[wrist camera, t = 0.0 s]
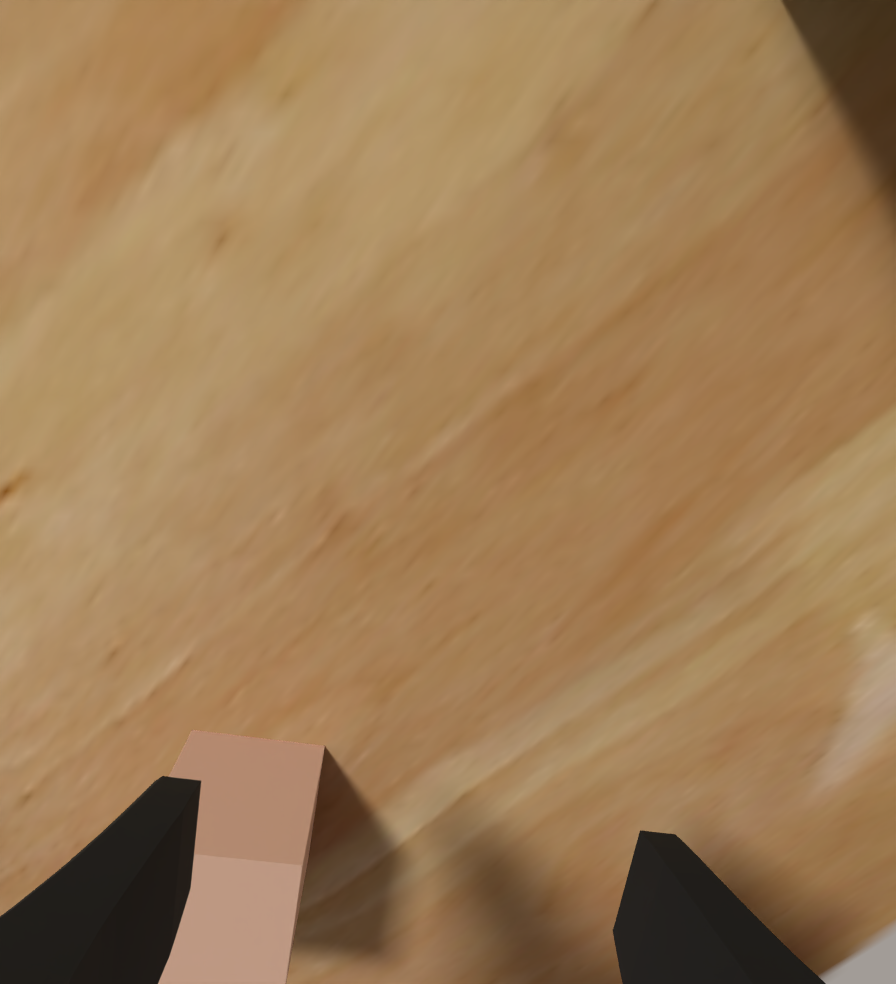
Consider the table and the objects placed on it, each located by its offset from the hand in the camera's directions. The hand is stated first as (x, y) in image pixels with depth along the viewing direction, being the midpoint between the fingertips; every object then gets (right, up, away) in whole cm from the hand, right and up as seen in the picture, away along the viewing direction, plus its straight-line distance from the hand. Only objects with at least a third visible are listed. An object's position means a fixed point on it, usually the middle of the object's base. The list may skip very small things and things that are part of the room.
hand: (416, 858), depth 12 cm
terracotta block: (-6, -3, +11) cm, 13 cm away
